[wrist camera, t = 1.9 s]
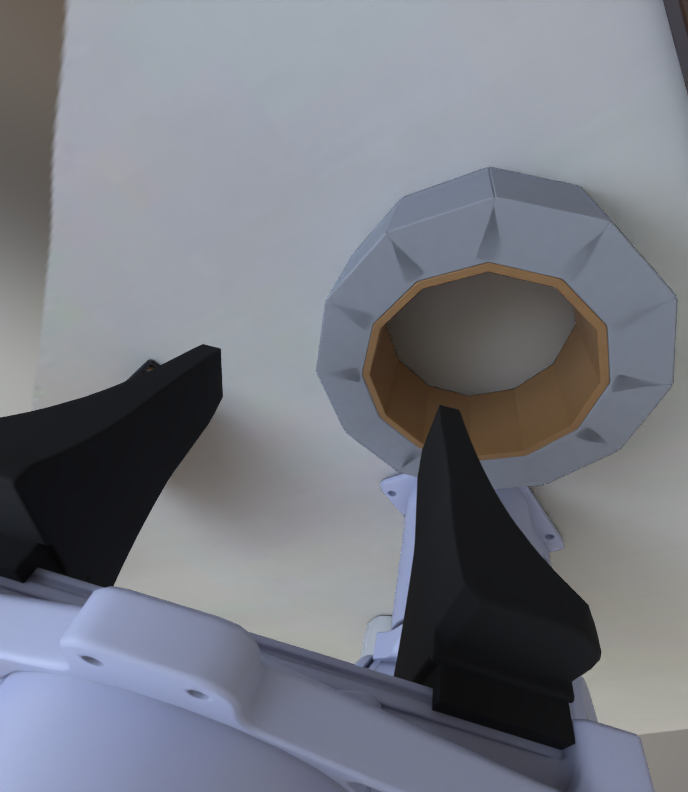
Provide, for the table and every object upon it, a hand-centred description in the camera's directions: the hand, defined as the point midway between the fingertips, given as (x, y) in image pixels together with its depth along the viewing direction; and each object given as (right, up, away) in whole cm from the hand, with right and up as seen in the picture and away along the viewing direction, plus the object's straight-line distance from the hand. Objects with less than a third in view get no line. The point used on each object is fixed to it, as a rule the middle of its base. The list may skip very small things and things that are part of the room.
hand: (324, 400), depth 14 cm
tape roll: (+7, +3, +6) cm, 9 cm away
